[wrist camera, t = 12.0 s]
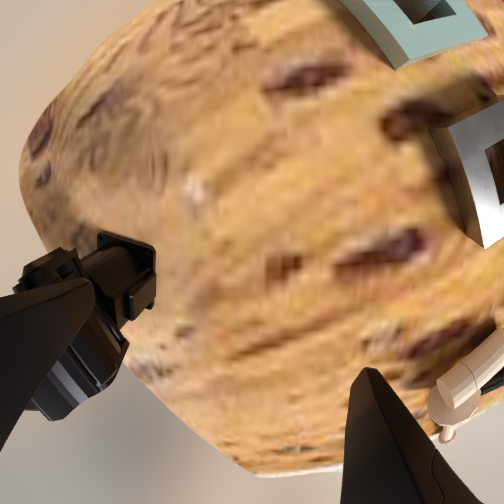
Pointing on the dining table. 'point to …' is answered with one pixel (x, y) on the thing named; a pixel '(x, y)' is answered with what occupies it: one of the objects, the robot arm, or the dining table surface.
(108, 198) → the dining table surface
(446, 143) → the socket block
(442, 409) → the toilet paper hanger
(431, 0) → the steel pin
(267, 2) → the dining table surface
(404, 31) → the block
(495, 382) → the handgun
